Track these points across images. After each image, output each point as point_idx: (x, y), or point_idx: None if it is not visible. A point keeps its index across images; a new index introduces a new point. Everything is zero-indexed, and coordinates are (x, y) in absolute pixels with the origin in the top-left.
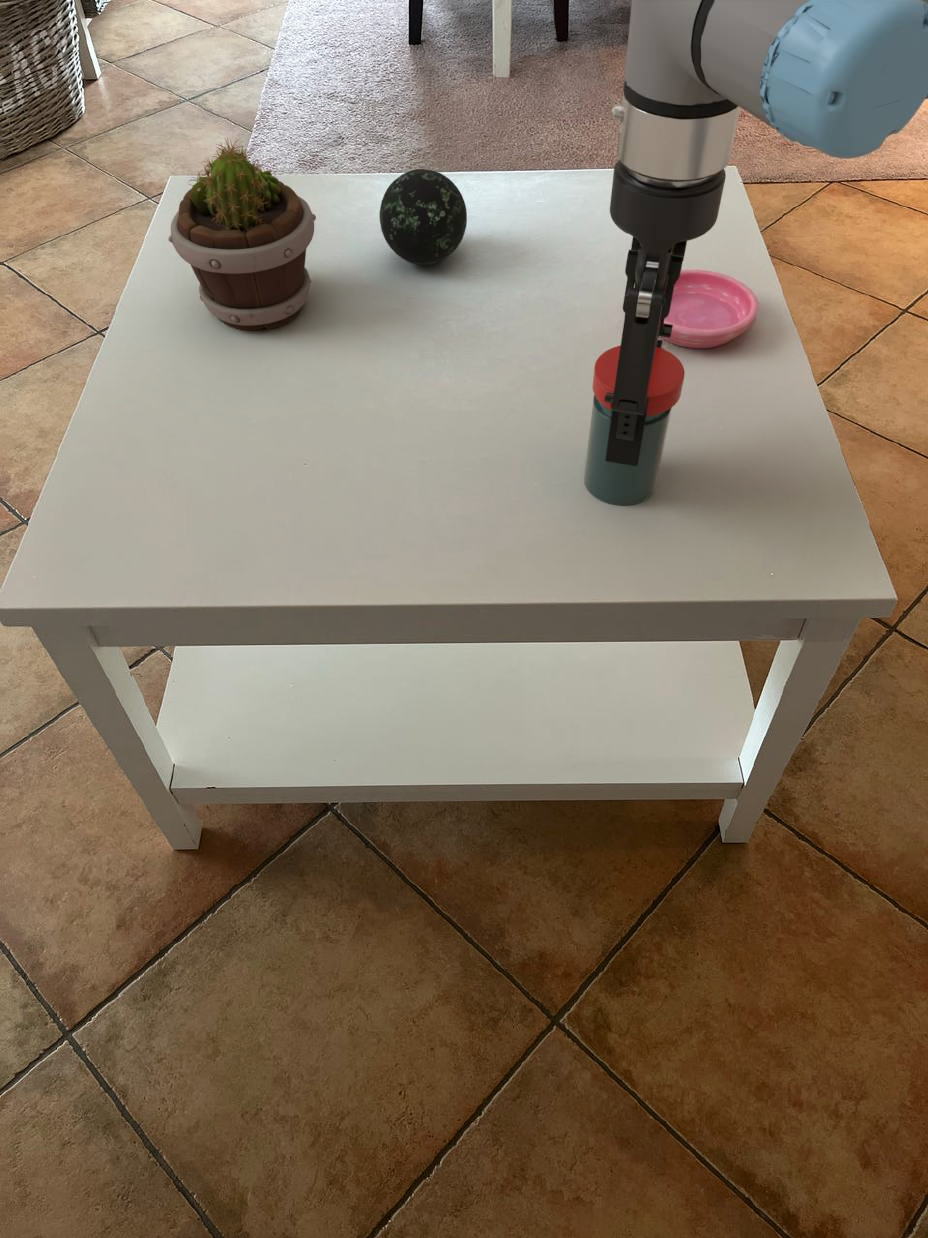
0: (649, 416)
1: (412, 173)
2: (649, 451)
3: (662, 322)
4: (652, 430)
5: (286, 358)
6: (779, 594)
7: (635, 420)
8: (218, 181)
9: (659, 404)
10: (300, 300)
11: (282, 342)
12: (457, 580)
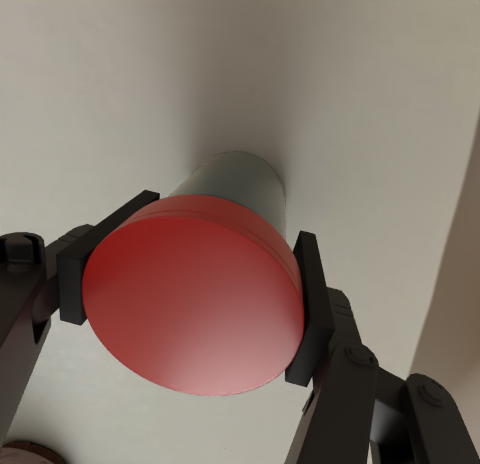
0: None
1: None
2: (279, 210)
3: (22, 309)
4: (279, 232)
5: (95, 451)
6: None
7: (357, 332)
8: None
9: (297, 274)
10: (27, 462)
11: (76, 452)
12: (384, 365)
